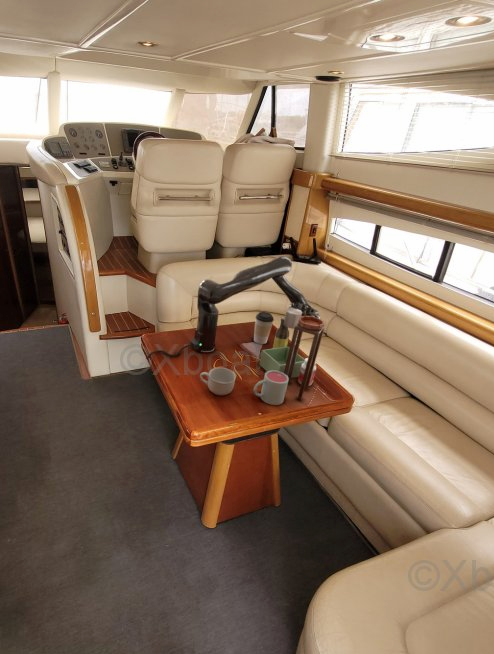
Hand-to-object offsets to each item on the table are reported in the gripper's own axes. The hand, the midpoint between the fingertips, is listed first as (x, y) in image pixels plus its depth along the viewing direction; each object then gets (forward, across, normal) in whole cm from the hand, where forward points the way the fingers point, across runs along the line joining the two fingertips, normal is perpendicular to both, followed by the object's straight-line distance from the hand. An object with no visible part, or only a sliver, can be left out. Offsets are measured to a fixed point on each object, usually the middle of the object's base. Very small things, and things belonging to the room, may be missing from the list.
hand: (300, 305), depth 167 cm
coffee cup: (-26, -18, +18) cm, 37 cm away
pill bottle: (-3, +12, +31) cm, 34 cm away
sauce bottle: (-16, -5, +24) cm, 29 cm away
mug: (+16, +3, +42) cm, 45 cm away
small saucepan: (0, 0, +7) cm, 7 cm away
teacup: (+22, -16, +45) cm, 53 cm away
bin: (-6, 0, +29) cm, 30 cm away
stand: (+5, +10, +36) cm, 37 cm away
